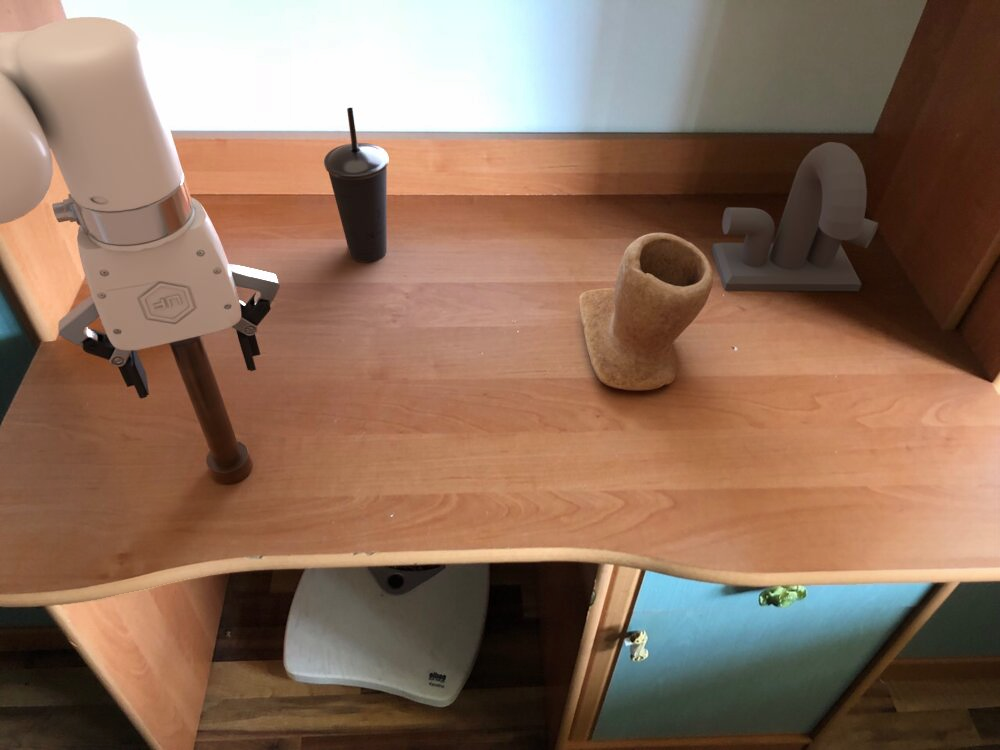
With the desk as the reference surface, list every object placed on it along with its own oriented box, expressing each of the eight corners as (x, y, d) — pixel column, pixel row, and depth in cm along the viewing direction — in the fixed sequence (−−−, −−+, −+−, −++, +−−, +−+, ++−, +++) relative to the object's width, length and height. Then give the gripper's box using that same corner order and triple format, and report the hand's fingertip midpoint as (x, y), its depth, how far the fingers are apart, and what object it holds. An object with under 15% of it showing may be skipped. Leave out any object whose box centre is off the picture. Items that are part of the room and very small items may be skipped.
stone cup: (698, 397, 87) (729, 291, 76) (591, 398, 87) (607, 292, 76) (672, 306, 98) (696, 202, 87) (576, 307, 97) (588, 203, 87)
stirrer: (214, 489, 77) (161, 357, 64) (208, 459, 80) (156, 326, 67) (255, 477, 78) (211, 345, 66) (248, 448, 81) (205, 315, 68)
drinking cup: (329, 264, 102) (305, 120, 88) (351, 230, 108) (331, 89, 93) (385, 273, 101) (370, 129, 87) (404, 239, 106) (393, 97, 92)
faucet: (732, 330, 95) (777, 184, 81) (706, 250, 106) (742, 110, 92) (882, 330, 95) (953, 186, 81) (841, 251, 106) (897, 111, 92)
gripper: (1, 260, 52) (93, 431, 65) (267, 208, 57) (305, 377, 69) (5, 200, 57) (90, 370, 70) (249, 157, 62) (288, 323, 74)
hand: (197, 373), depth 69 cm, fingers open, 8 cm apart
